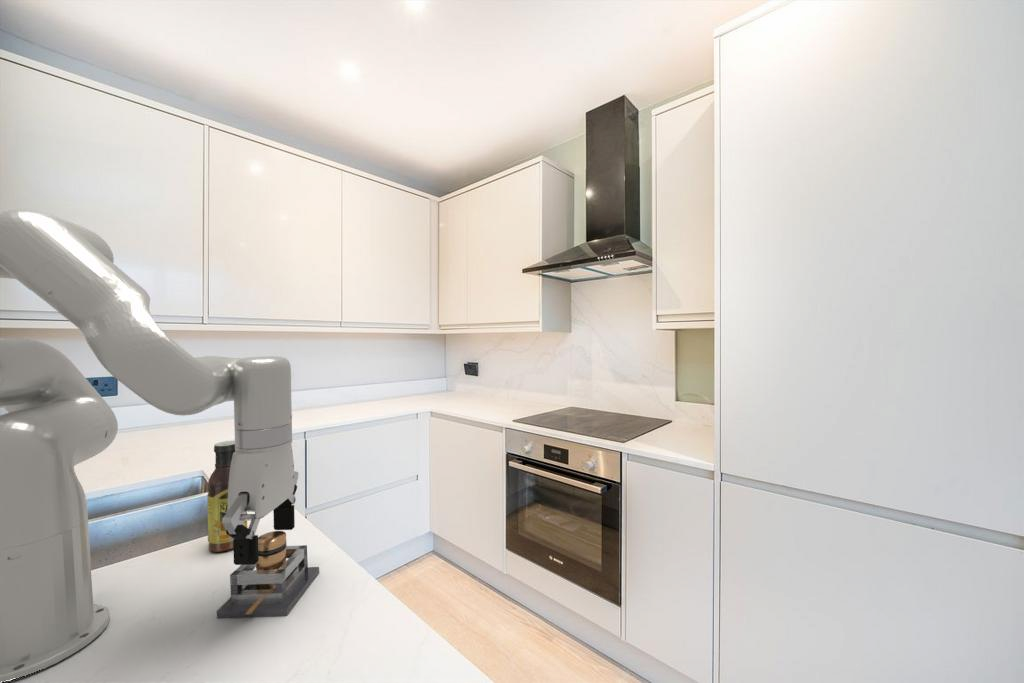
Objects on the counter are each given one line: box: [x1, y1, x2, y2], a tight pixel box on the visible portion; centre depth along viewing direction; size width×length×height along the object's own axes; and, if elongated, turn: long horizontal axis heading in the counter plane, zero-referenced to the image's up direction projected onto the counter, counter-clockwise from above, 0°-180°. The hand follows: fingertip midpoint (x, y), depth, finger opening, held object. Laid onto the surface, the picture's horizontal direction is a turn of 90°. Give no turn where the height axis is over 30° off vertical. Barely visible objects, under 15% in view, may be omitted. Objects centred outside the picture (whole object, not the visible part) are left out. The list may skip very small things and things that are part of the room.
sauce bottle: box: [206, 440, 248, 553], centre depth 76 cm, size 7×6×20 cm
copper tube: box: [255, 530, 288, 590], centre depth 61 cm, size 4×4×8 cm
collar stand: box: [216, 544, 320, 619], centre depth 61 cm, size 10×11×6 cm
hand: (266, 545), depth 61 cm, fingers open, 9 cm apart
